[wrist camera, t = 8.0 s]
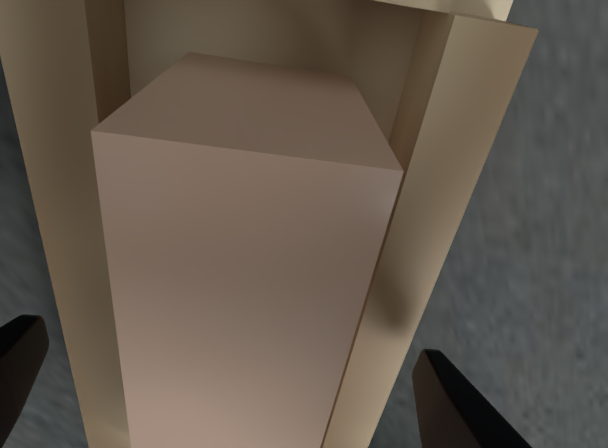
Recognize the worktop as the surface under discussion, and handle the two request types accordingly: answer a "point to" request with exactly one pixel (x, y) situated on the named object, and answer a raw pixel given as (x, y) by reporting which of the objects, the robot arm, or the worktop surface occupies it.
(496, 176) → the worktop surface
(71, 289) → the tray
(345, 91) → the clay bar
